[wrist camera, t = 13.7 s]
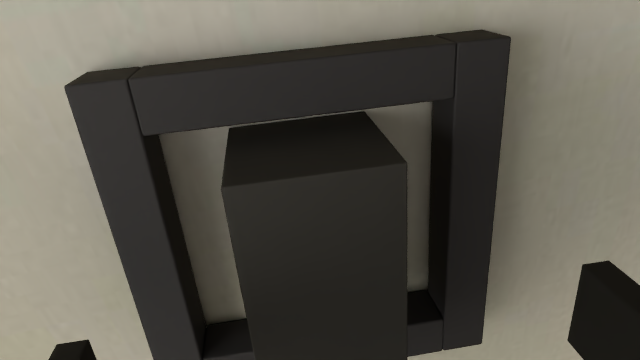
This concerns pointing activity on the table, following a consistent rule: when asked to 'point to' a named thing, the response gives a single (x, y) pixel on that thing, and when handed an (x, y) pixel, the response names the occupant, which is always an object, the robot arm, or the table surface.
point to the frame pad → (291, 102)
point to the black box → (319, 238)
